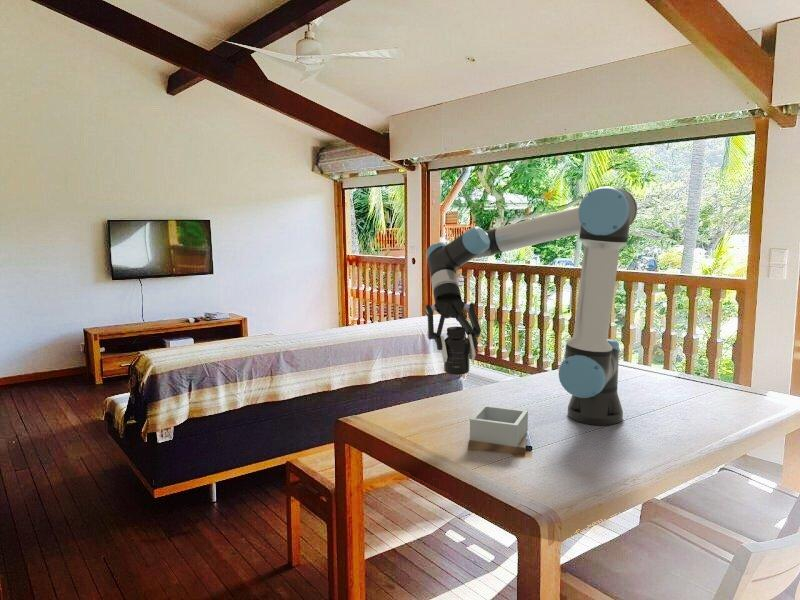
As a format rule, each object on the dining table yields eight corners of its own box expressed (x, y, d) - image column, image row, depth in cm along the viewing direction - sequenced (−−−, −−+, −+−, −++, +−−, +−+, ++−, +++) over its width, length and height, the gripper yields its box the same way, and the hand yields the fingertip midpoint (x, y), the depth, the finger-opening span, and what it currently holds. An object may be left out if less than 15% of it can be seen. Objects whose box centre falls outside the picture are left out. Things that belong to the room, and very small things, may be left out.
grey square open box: (527, 430, 156) (527, 410, 156) (516, 447, 146) (517, 425, 145) (483, 424, 161) (483, 405, 161) (469, 440, 151) (469, 419, 150)
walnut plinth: (526, 436, 159) (526, 427, 159) (525, 457, 146) (525, 447, 145) (474, 432, 162) (474, 423, 162) (468, 452, 149) (468, 443, 149)
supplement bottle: (444, 368, 163) (444, 325, 162) (469, 368, 162) (469, 325, 161) (443, 375, 157) (442, 330, 155) (469, 375, 156) (468, 330, 154)
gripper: (477, 296, 173) (493, 364, 160) (410, 299, 171) (420, 368, 157) (482, 280, 167) (499, 349, 154) (412, 282, 165) (423, 353, 151)
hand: (459, 358), depth 155 cm, fingers closed on supplement bottle, 7 cm apart
